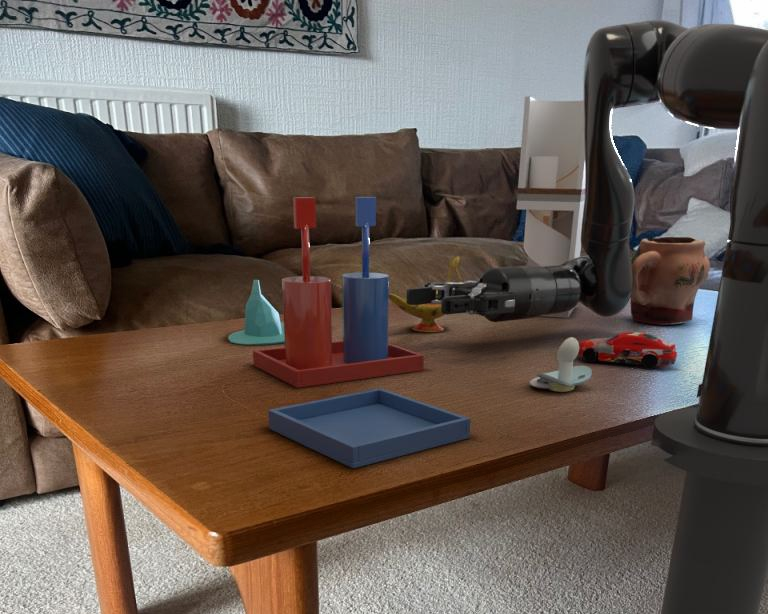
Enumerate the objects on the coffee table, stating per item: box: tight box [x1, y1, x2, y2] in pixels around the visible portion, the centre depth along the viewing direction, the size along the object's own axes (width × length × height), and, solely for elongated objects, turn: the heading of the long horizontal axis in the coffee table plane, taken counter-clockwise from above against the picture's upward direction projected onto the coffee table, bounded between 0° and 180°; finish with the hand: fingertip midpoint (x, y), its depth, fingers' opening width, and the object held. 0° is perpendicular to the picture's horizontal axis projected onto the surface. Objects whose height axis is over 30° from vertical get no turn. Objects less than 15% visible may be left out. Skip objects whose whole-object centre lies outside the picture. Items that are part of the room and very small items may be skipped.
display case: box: [516, 95, 585, 319], centre depth 138 cm, size 11×11×35 cm
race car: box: [577, 331, 678, 370], centre depth 106 cm, size 13×5×4 cm, turn 64°
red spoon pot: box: [281, 196, 333, 370], centre depth 96 cm, size 6×6×20 cm
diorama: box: [227, 279, 285, 346], centre depth 121 cm, size 12×20×9 cm, turn 149°
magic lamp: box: [389, 256, 462, 333], centre depth 124 cm, size 7×18×11 cm, turn 132°
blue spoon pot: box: [341, 196, 390, 364], centre depth 100 cm, size 6×6×20 cm
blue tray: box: [267, 387, 471, 469], centre depth 77 cm, size 14×14×2 cm
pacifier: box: [529, 336, 593, 393], centre depth 93 cm, size 7×6×6 cm
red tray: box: [252, 340, 425, 389], centre depth 102 cm, size 18×13×2 cm
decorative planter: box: [629, 236, 711, 325], centre depth 133 cm, size 20×12×14 cm, turn 137°
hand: (424, 301), depth 106 cm, fingers open, 8 cm apart
